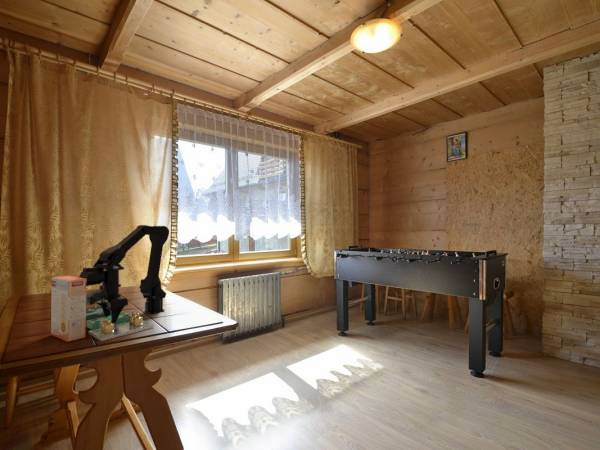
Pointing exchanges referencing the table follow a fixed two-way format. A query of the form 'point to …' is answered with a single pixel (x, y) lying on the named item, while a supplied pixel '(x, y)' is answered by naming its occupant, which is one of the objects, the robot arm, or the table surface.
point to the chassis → (120, 327)
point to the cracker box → (68, 308)
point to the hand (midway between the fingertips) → (110, 321)
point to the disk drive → (94, 312)
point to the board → (96, 322)
